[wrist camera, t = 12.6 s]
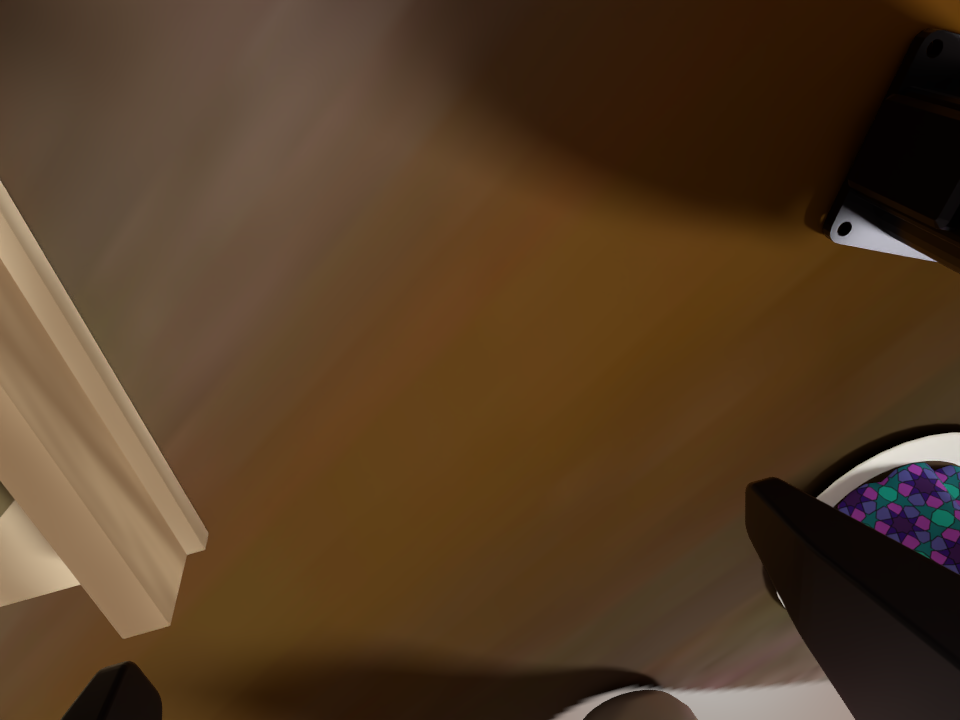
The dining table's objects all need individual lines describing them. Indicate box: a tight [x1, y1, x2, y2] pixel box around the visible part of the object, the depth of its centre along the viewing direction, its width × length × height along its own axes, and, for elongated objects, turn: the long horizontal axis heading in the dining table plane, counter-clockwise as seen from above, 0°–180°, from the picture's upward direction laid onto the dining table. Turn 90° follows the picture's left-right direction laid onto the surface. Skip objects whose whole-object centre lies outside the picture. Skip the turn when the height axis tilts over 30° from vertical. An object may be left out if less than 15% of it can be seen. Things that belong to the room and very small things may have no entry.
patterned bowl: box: [777, 433, 960, 607], centre depth 30 cm, size 12×12×5 cm
